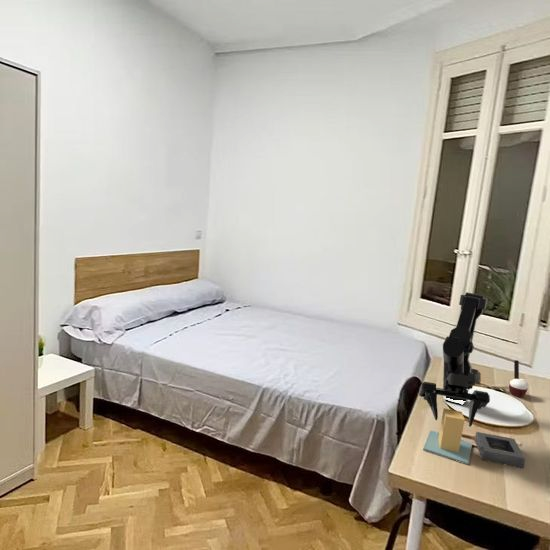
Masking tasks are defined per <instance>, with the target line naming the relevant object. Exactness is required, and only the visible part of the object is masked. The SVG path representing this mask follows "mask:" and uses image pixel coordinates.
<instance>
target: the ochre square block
mask: <svg viewBox="0 0 550 550" xmlns="http://www.w3.org/2000/svg"><path fill="white" fill-rule="evenodd" d="M440 421H441V422H440V428H439V432H438V433H439V438H438V440H439V445H440V448H441V449H446V450H451V451H456V452H459V448H460V442H461V440H462V436H463V432H464V431H463V430H464V426H465V425H464V424H465V417H464V415H463V412H462V411H460V410H454V409H449V408H443V411H442V416H441V420H440Z"/></svg>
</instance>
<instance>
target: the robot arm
mask: <svg viewBox="0 0 550 550" xmlns="http://www.w3.org/2000/svg"><path fill="white" fill-rule="evenodd" d="M487 303H488V298H485V295H483V294H478V293H471V292H465V294H460V297H459V303H458V305H460V310H461V311H460V314H459V316H458V321H457V324H456V327H454V328H452V329H451V330H450V332H449V335H448V336H446V338H445V339H444V342H443V343H442V357H443V375H442V376H443V378H442V379H443V380H442V382H443V384H442V385H443V387H442V388H439V387H437V383H436V382H430V381H423V382H421V385H420V386H419V392H418V394H419V395H418V396H419V397H422V398H423V400H424V401H426V402H427V404H428V405H429V407H430V409H431V412H432V415H433V418H434V420H435V421H437V420H438V418H439V417H438V415H439V413H438V412H439V410H438V400H437V398H438V395H439V396H443V397H446V398H450V399H453V400H463V401H466V402H467V401H470V402H469V403H470V404H469V409H468V426H469V427H472V425H473V422H474V421H475V417H476V414H477V412H478V410H481V409H482V408H485V407H486V406H487V405H488V404H489V403H490V401H491V399H490V398H491V397H490V394H489V393H488V392H487V391H482V390H473V392H472V393H469V390H472V389H473V387H474V386H475V384H476V383H475V374H473V373H471V369H473V368H472V365H471V362H470V360H469V358H470V354H472V353H473V351H474V349H475V346H474V342H473V338H474V334H475V329H476V325H477V319H479V317H480V316H482V314H483V313H484V310H486V308H487Z"/></svg>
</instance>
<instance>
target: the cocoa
mask: <svg viewBox="0 0 550 550" xmlns="http://www.w3.org/2000/svg"><path fill="white" fill-rule="evenodd" d="M513 363H514V366H513V367H514V373H513V376H514V377H513V379H511V380H510V381H509V385H508V391H509V393H510V394H511V395H512V396H513V397H517V398H521V397H524V396H526V394H527V393H528V392H527V391H528V388H529V386H530V385H529V383H528V381H526V379H524V378H520V375H519V374H520V370H519V369H520V365H519V364H520V361H519V360H514V362H513Z"/></svg>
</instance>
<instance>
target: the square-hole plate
mask: <svg viewBox="0 0 550 550" xmlns="http://www.w3.org/2000/svg"><path fill="white" fill-rule="evenodd" d="M475 433H476V434H475V438H474V442H475V445H476V447H477V450H478V453H479V455H480V457H481V460H482V461H485V462H489V461H490V462H491V463H496V464H499V463H500V464H501V465H504V464H506V465H505V466H509V465H510V466H509V467H514V466H515V467H514V468H519V467H520V468H519V469H524V466H525V461H526V457H525V455H524V454H523V452H522V451H521V449H520V446H519V445H518V443H517V441H516V440H515V438H512V437H508V436H507V437H506V436H503V435H502V436H501V435H498V434H497V435H496V434H490V433H485V432H480V431H476V432H475ZM490 462H489V463H490ZM500 464H499V465H500Z"/></svg>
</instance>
